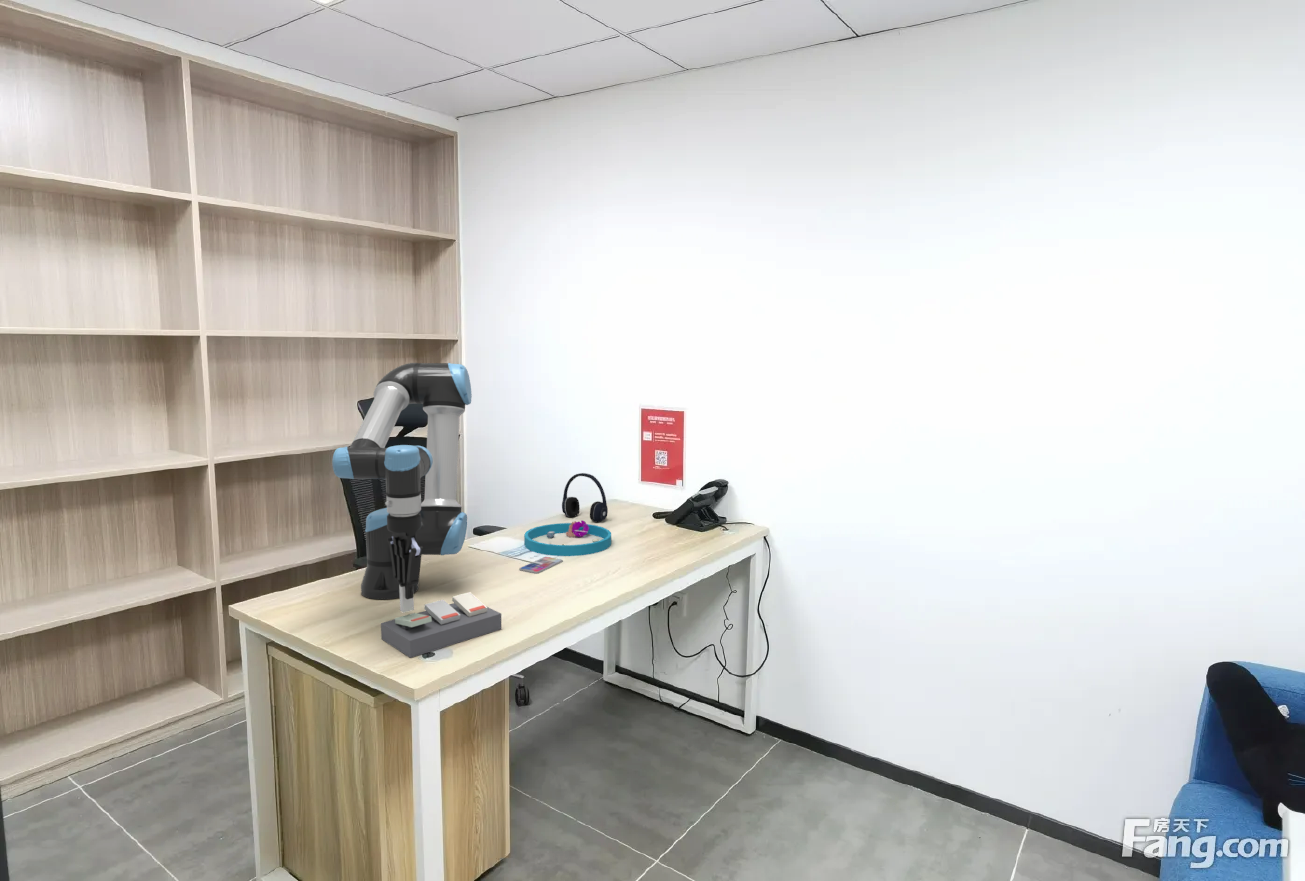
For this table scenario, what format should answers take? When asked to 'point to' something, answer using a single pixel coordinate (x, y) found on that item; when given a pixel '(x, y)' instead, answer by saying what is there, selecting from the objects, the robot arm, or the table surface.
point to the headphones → (572, 504)
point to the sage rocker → (413, 619)
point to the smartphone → (540, 565)
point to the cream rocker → (469, 604)
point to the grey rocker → (442, 611)
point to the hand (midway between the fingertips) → (407, 610)
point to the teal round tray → (571, 531)
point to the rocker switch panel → (439, 632)
